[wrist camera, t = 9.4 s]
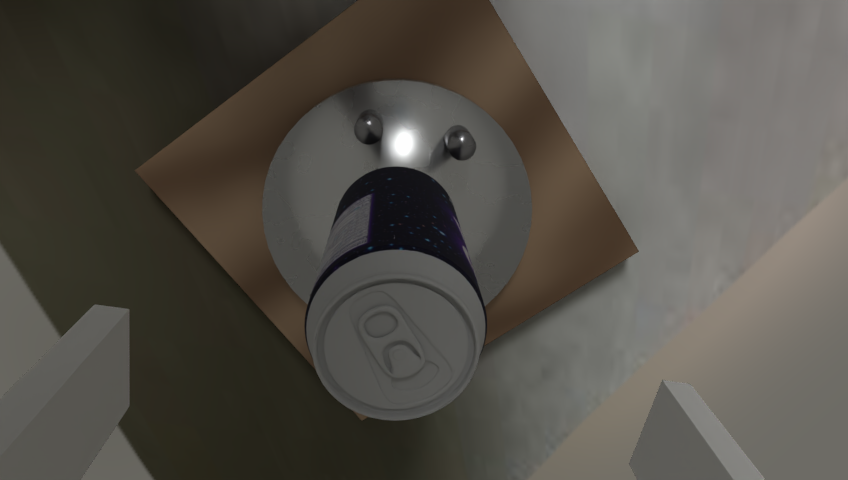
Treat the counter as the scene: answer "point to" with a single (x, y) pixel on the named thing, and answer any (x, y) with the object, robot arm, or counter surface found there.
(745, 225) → the counter surface
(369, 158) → the flange
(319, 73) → the base plate
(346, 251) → the beverage can
